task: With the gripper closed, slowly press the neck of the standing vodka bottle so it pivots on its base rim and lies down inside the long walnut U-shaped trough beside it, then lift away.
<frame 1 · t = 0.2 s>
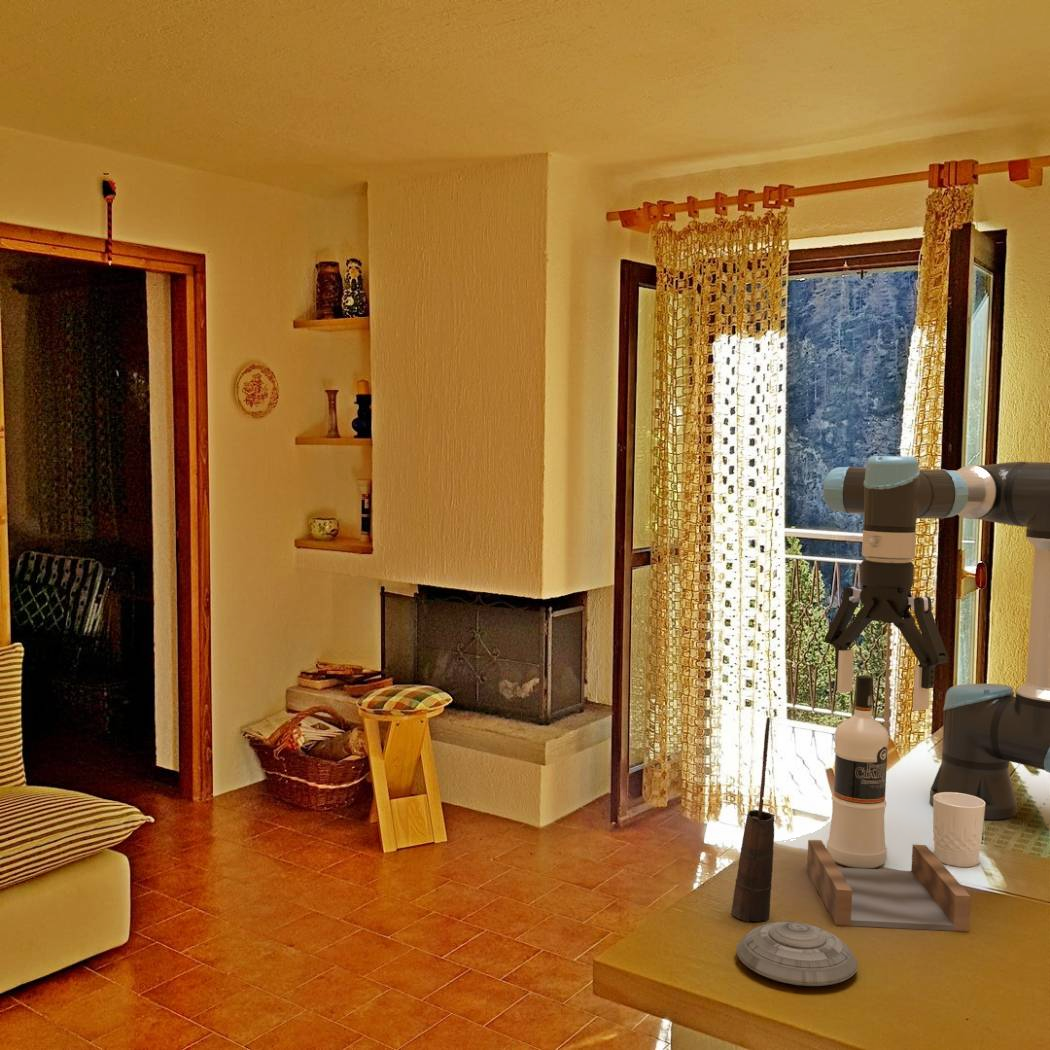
hand: (881, 700, 168), 28 cm above the table, tool pointing down, fingers open, 13 cm apart
u rest: (883, 882, 163), on the table
flying saucer: (795, 969, 142), on the table
butter churn: (749, 919, 155), on the table
white cup: (955, 861, 181), on the table
vodka: (855, 861, 180), on the table
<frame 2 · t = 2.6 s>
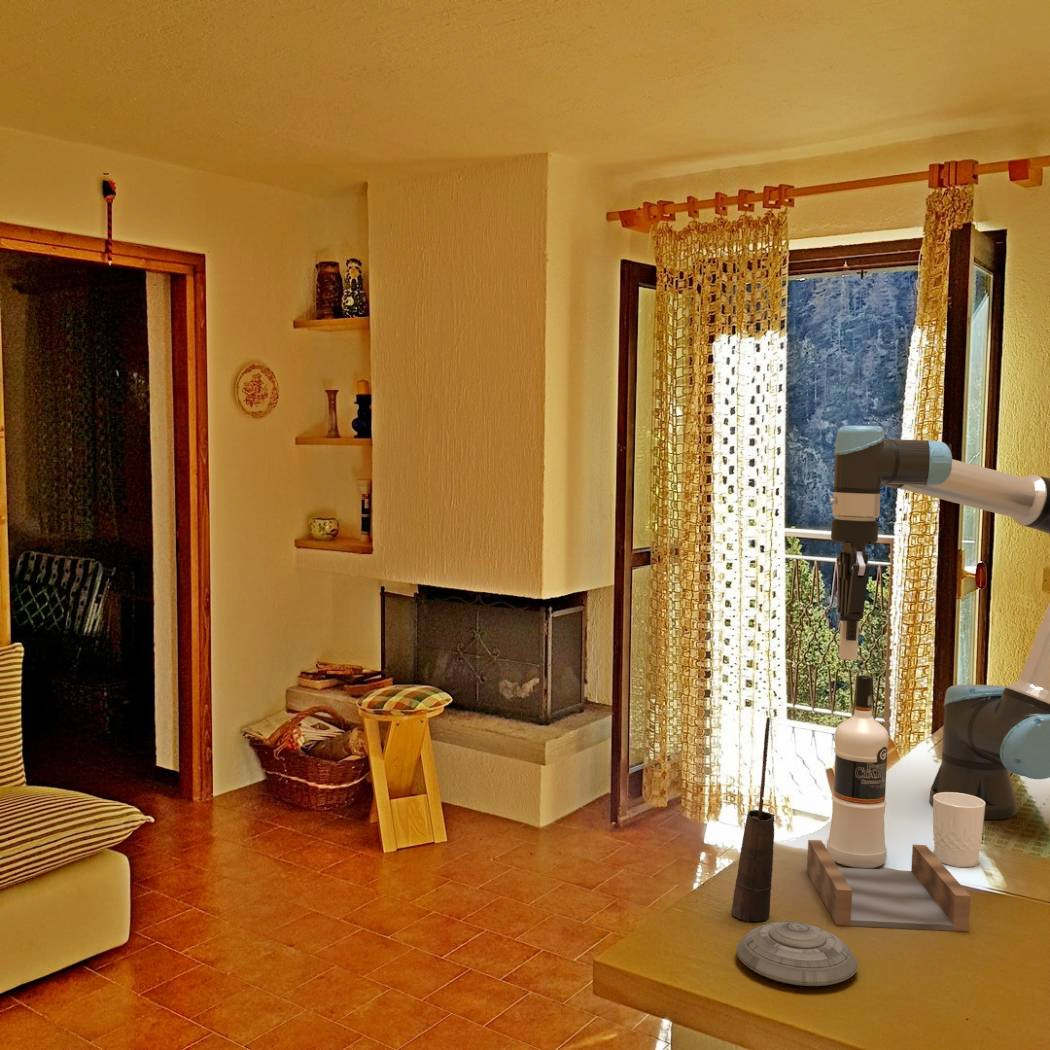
hand: (847, 658, 187), 31 cm above the table, tool pointing down, fingers closed
nothing on the table moved.
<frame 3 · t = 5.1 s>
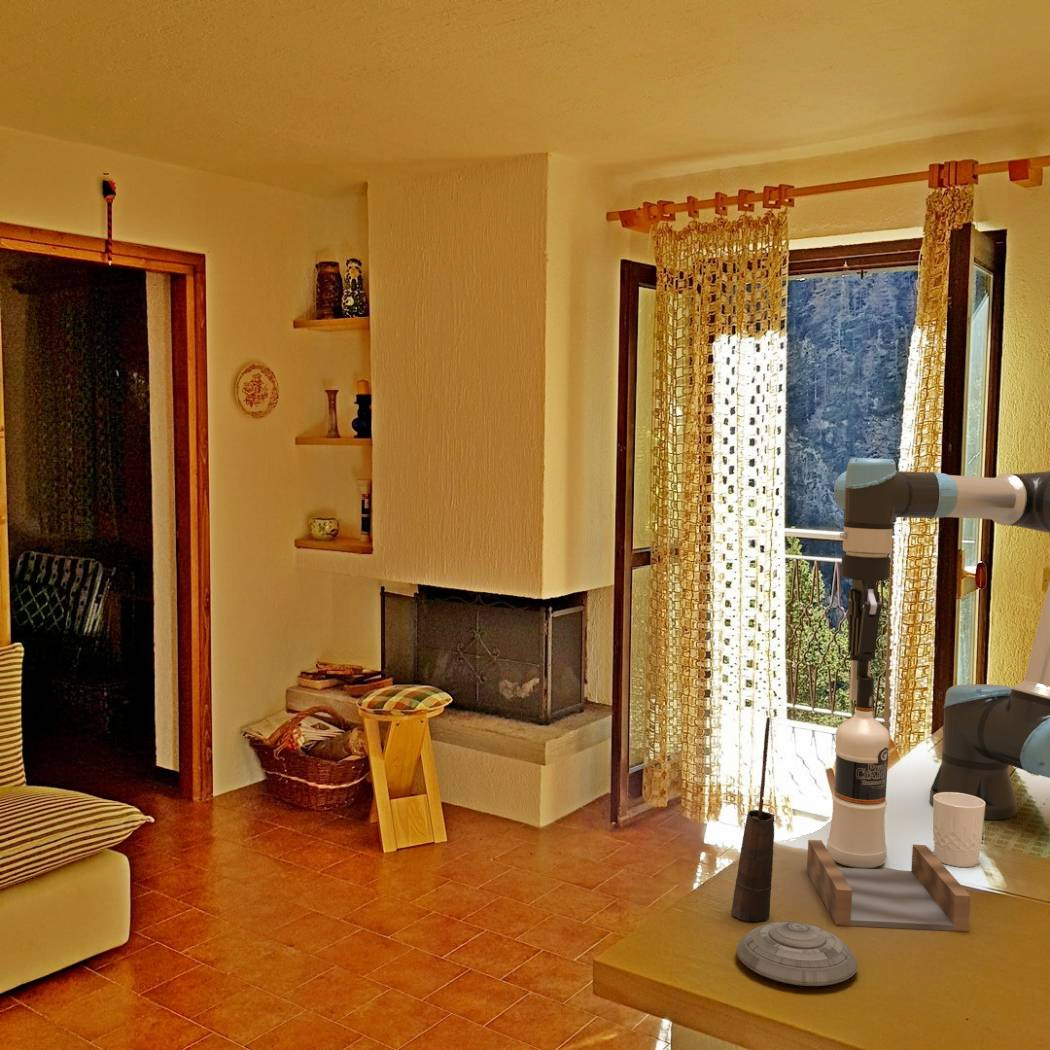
hand: (858, 699, 180), 26 cm above the table, tool pointing down, fingers closed
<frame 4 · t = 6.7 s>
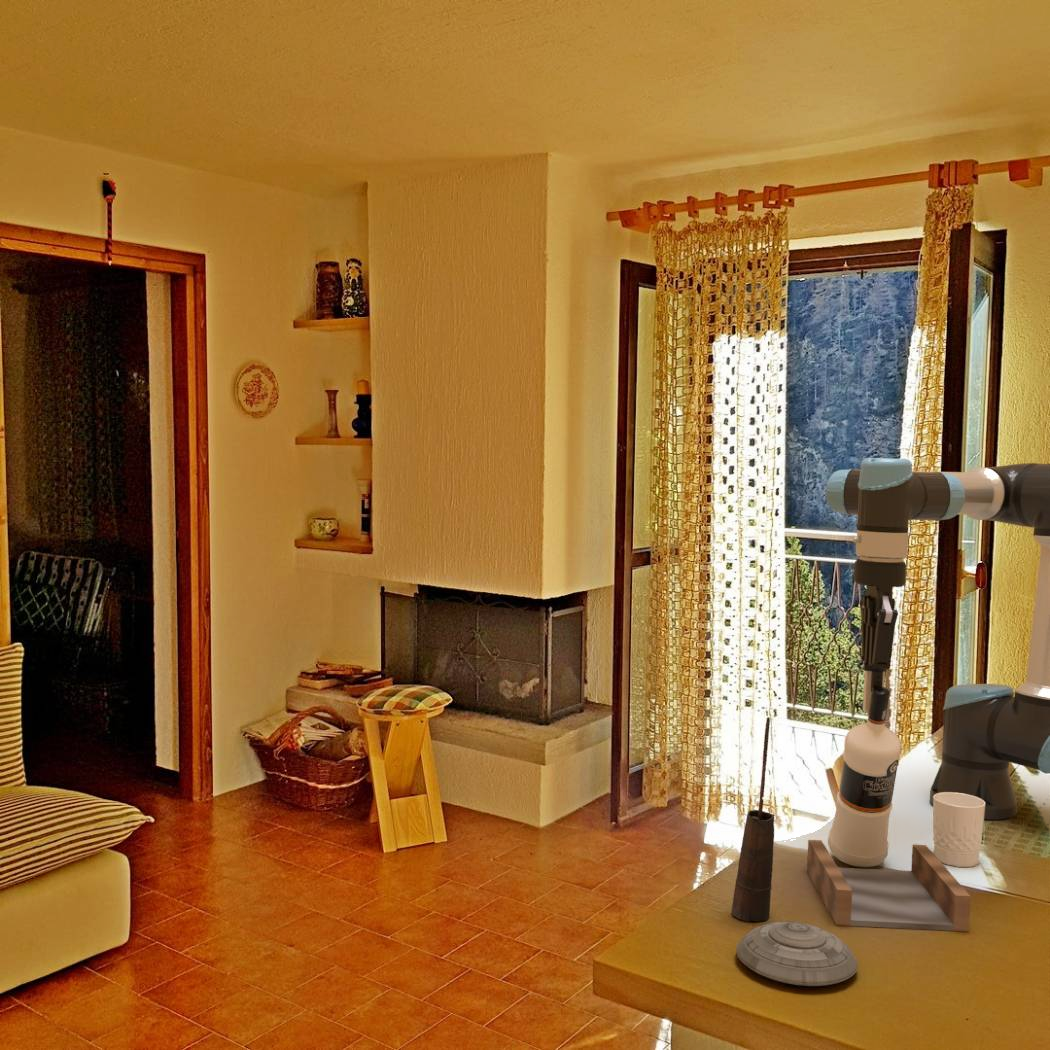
hand: (872, 711, 172), 26 cm above the table, tool pointing down, fingers closed
vodka: (856, 852, 179), point 1 cm above the table, touching gripper
everything else where it was.
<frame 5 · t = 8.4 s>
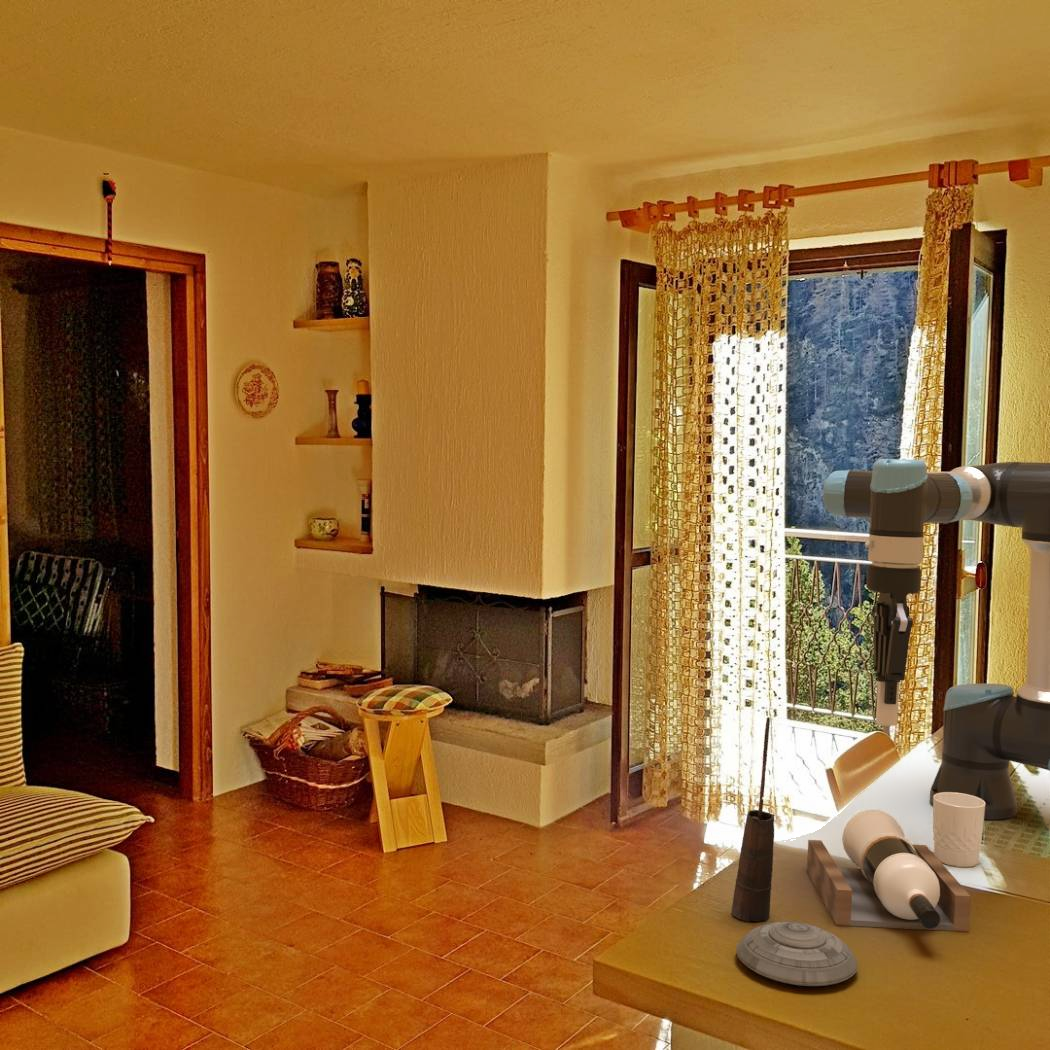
hand: (886, 724, 164), 25 cm above the table, tool pointing down, fingers closed
vodka: (870, 835, 175), point 5 cm above the table, touching u rest
everything else where it was.
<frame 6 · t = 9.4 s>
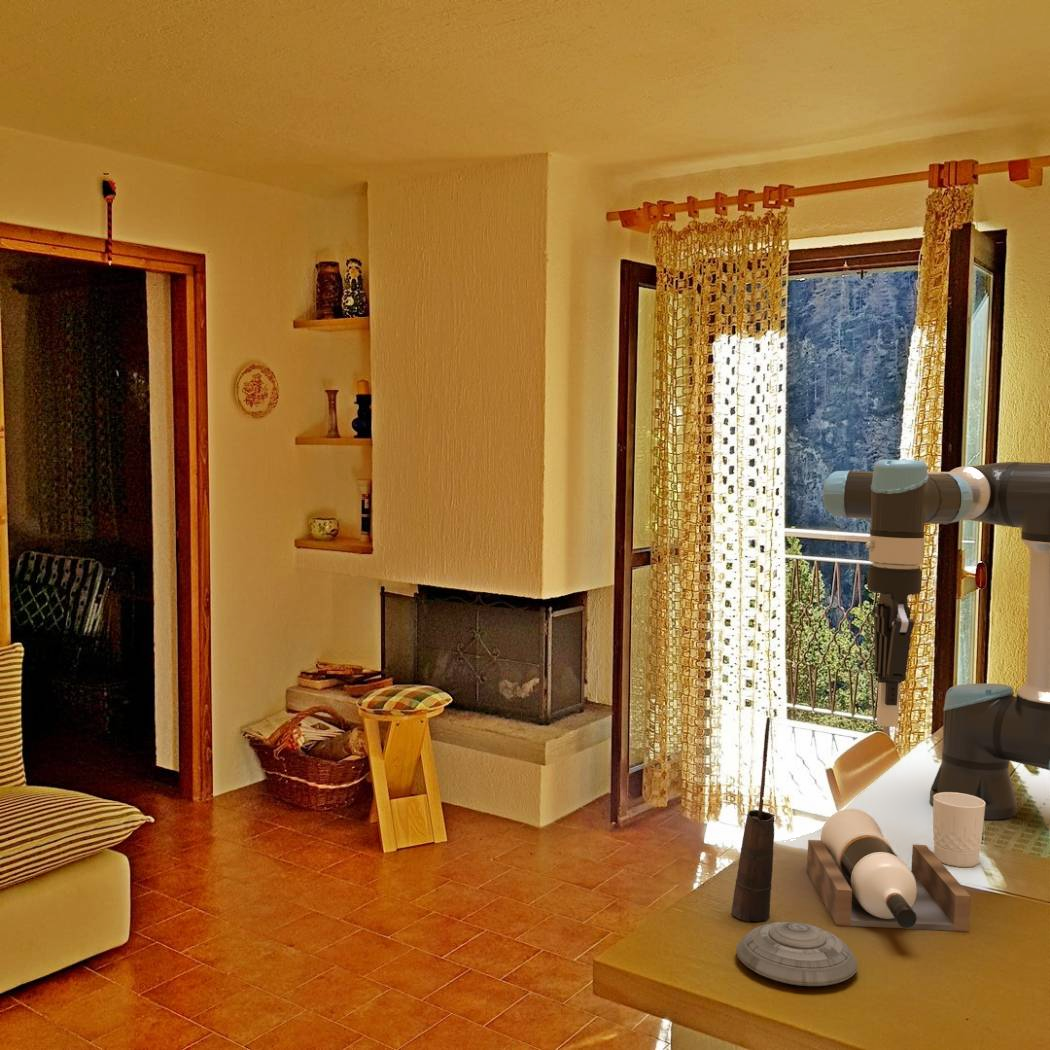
hand: (887, 725, 164), 25 cm above the table, tool pointing down, fingers closed
vodka: (848, 835, 175), point 5 cm above the table, touching u rest
everything else where it was.
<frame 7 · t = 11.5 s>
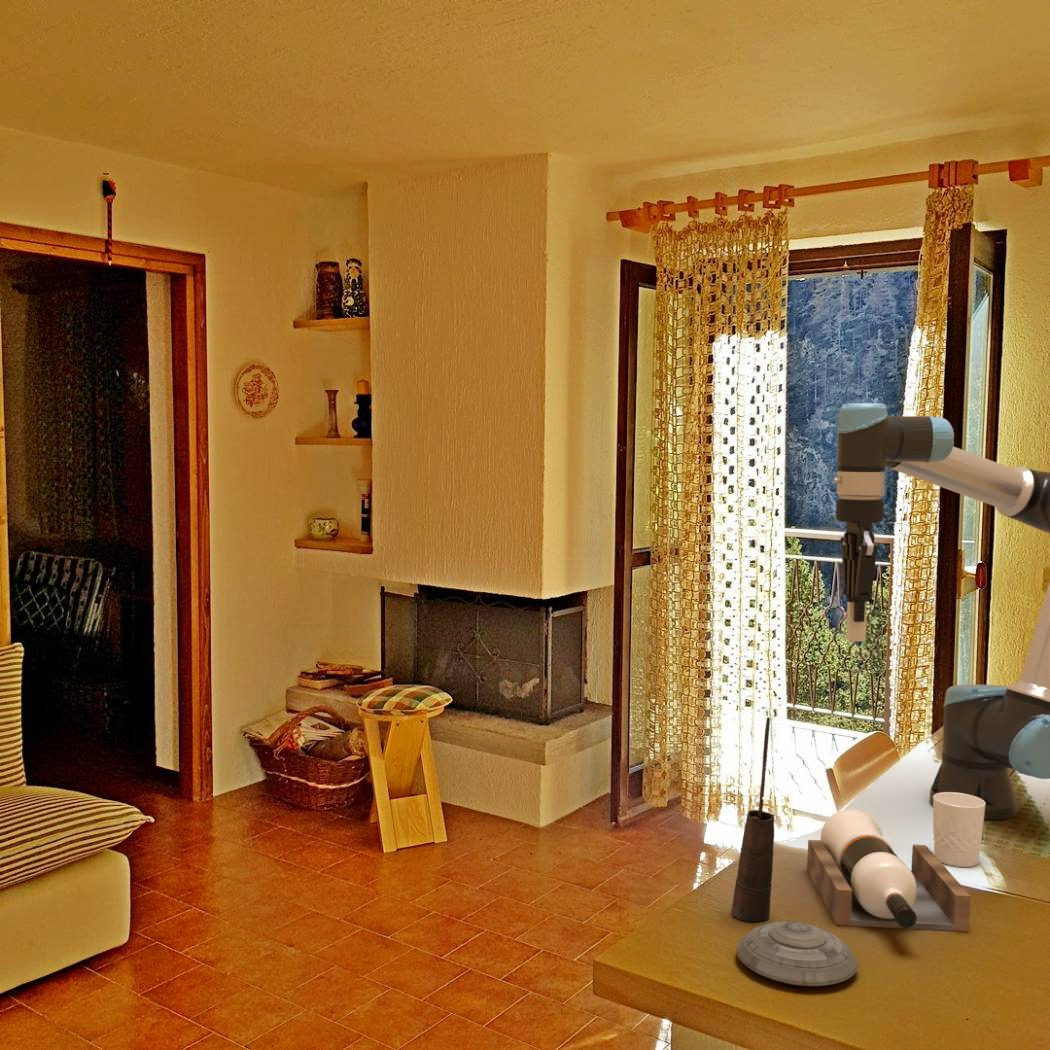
hand: (855, 640, 184), 34 cm above the table, tool pointing down, fingers closed
nothing on the table moved.
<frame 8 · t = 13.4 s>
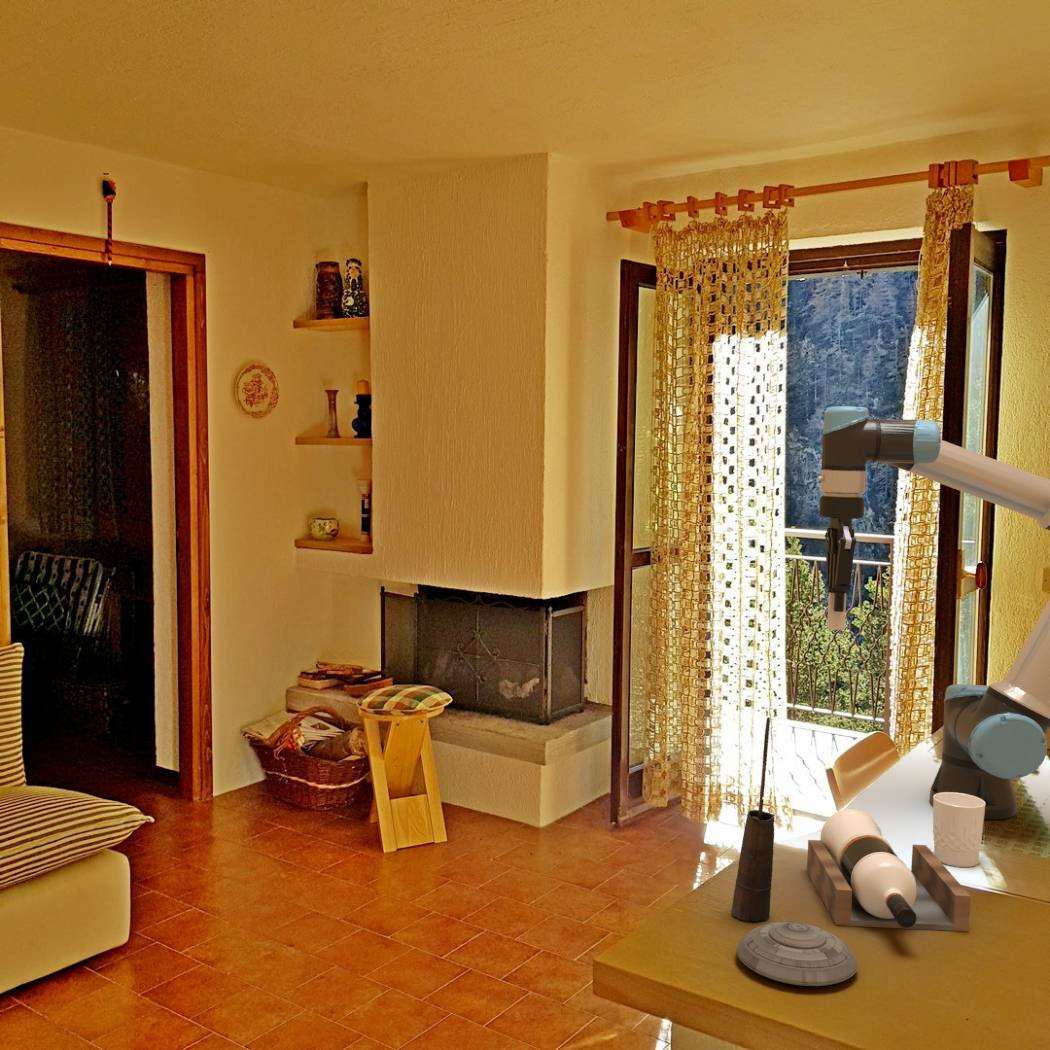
hand: (835, 629, 196), 34 cm above the table, tool pointing down, fingers closed
nothing on the table moved.
at the end: vodka tilted 91°; vodka touching u rest; vodka inside the target area on the u rest (2.8 cm from its centre), point 5.5 cm above the u rest's base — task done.
